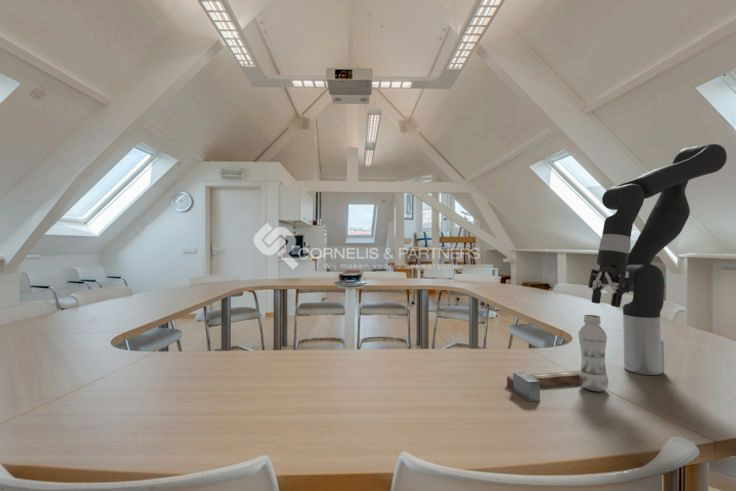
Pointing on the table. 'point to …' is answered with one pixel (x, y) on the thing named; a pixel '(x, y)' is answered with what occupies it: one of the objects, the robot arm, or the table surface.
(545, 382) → the walnut rail
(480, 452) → the table surface
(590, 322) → the plastic bottle
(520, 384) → the metal end stop
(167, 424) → the table surface
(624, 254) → the robot arm
